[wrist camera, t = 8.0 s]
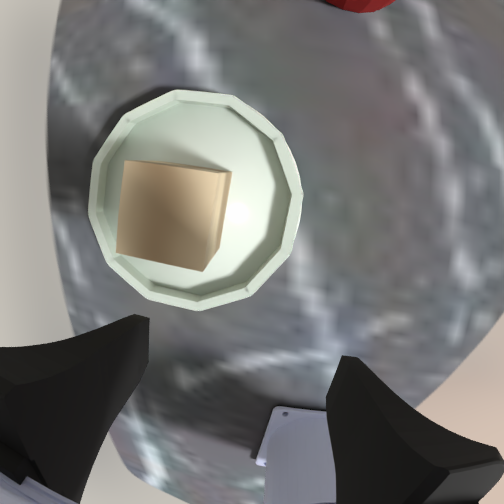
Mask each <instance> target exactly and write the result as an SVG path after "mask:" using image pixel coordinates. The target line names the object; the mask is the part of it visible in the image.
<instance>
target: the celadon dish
mask: <svg viewBox="0 0 504 504" xmlns="http://www.w3.org/2000/svg"><path fill="white" fill-rule="evenodd" d="M125 160H147V161H164V162H172V163H179V164H186V165H192V166H199V167H206V168H212V169H218V170H224V171H230V172H232V178H231V183H230V189H229V195H228V200H227V206H226V212H225V218H224V224H223V230H222V236H221V242H220V248H219V249H218V251H217V252H216V254H215V255H214V257H213V258H212V259H211V261H210V262H209V264H208V265H207V267H206V268H205V270H204V271H203V272H200V271H195V270H191V269H186V268H181V267H177V266H172V265H167V264H163V263H158V262H154V261H149V260H145V259H140V258H136V257H131V256H127V255H123V254H118V253H116V240H117V226H118V214H119V204H120V194H121V185H122V177H123V170H124V162H125ZM303 195H304V194H303V190H302V187H301V182H300V176H299V172H298V169H297V165H296V162H295V160H294V157H293V155H292V153H291V150H290V148H289V147H288V145H287V143H286V142H285V139H284V136H283V135H282V133H281V132H280V131H278V130H277V129H276V128H275V127H274V126H273V124H271V123H270V122H269V121H268V120H267V119H266V118H265V117H264V116H263V115H262V114H260V113H259V112H257V111H256V110H254V109H253V108H252V107H250V106H248V105H246V104H245V103H243V102H242V101H241V100H239V99H238V98H237V97H236V96H234V95H227V94H218V93H209V92H200V91H189V90H173V91H171V92H168V93H166V94H164V95H162V96H160V97H158V98H156V99H154V100H151V101H149V102H147V103H145V104H143V105H141V106H139V107H137V108H135V109H134V110H132V111H130V112H128V113H126V114H124V115H123V116H122V118H121V119H120V121H119V122H118V124H117V125H116V126H115V128H114V129H113V131H112V132H111V134H110V135H109V137H108V138H107V140H106V141H105V143H104V144H103V146H102V147H101V149H100V150H99V152H98V154H97V155H96V157H95V158H94V161H93V165H92V173H91V183H90V193H89V205H88V214H89V215H88V216H89V219H90V222H91V224H92V227H93V230H94V232H95V235H96V237H97V240H98V243H99V245H100V248H101V250H102V252H103V255H104V257H105V260H106V262H107V263H108V265H109V266H110V267H111V268H112V269H113V270H114V271H115V272H117V273H118V274H119V275H120V276H121V277H122V278H123V279H124V280H126V281H127V282H128V283H129V284H130V285H131V286H132V287H134V288H135V289H136V290H137V291H138V292H139V293H140V294H142V295H143V296H144V297H145V298H146V299H147V298H148V299H149V300H153V301H157V302H161V303H165V304H169V305H173V306H177V307H182V308H186V309H190V310H195V311H198V310H199V311H202V310H205V309H209V308H212V307H216V306H219V305H223V304H226V303H230V302H233V301H237V300H240V299H243V298H247V297H250V296H252V295H253V294H254V293H255V292H256V291H257V290H258V288H259V287H260V286H261V285H262V284H263V283H264V282H265V281H266V280H267V279H268V278H269V277H270V276H271V275H272V274H273V273H274V272H275V270H276V269H277V268H278V267H279V266H280V265H281V264H282V263H283V262H284V261H285V260H286V259H287V258H288V257H289V255H290V253H291V251H292V246H293V242H294V239H295V236H296V233H297V229H298V226H299V222H300V216H301V209H302V200H303Z"/></svg>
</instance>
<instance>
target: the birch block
mask: <svg viewBox="0 0 504 504" xmlns="http://www.w3.org/2000/svg"><path fill="white" fill-rule="evenodd" d="M231 178H232V172H230V171H224V170H218V169H212V168H206V167H199V166H192V165H186V164H179V163H172V162H164V161H147V160H125V162H124V170H123V177H122V185H121V194H120V204H119V214H118V226H117V240H116V253H118V254H123V255H127V256H131V257H136V258H140V259H145V260H149V261H154V262H158V263H163V264H167V265H172V266H177V267H181V268H186V269H191V270H195V271H200V272H203V271H204V270H205V268H206V267H207V265H208V264H209V262H210V261H211V259H212V258H213V257H214V255H215V254H216V252H217V251H218V249H219V248H220V242H221V236H222V230H223V224H224V218H225V212H226V206H227V200H228V195H229V189H230V183H231Z"/></svg>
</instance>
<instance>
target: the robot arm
mask: <svg viewBox="0 0 504 504" xmlns="http://www.w3.org/2000/svg"><path fill="white" fill-rule="evenodd" d="M149 320H150V318H148V317H144V316H140V315H136V314H133V315H130V316H128V317H125V318H122V319H120V320H118V321H115V322H113V323H110V324H108V325H105V326H103V327H100V328H98V329H95V330H93V331H90V332H87V333H84V334H81V335H78V336H75V337H72V338H69V339H65V340H61V341H57V342H52V343H47V344H40V345H33V346H24V347H0V504H80V501H81V498H82V494H83V491H84V488H85V485H86V483H87V480H88V477H89V474H90V472H91V469H92V466H93V464H94V461H95V459H96V457H97V455H98V452H99V450H100V447H101V445H102V443H103V441H104V439H105V437H106V435H107V432H108V430H109V428H110V427H111V425H112V423H113V422H114V420H115V418H116V417H117V415H118V414H119V412H120V411H121V409H122V408H123V406H124V405H125V403H126V402H127V400H128V399H129V397H130V396H131V394H132V392H133V391H134V389H135V388H136V386H137V385H138V383H139V381H140V379H141V377H142V375H143V373H144V371H145V368H146V366H147V364H148V352H149ZM284 412H288V413H284ZM256 464H257V465H260V466H266V474H265V489H264V503H263V504H479V503H478V502H479V500H480V499H482V498H483V497H484V496H485V495H486V494H487V493H488V492H489V491H490V490H491V489H492V487H494V485H495V484H496V483H497V482H498V481H499V480H500V478H501V477H502V475H503V473H504V460H503V458H502V456H501V455H500V453H499V451H498V450H497V448H496V447H493V446H489V445H486V444H482V443H479V442H476V441H473V440H470V439H467V438H465V437H463V436H460V435H458V434H456V433H453V432H451V431H449V430H447V429H445V428H444V427H442V426H440V425H438V424H436V423H435V422H433V421H431V420H429V419H428V418H426V417H425V416H423V415H422V414H421V413H419V412H418V411H416V410H415V409H413V408H412V407H411V406H410V405H408V404H407V403H406V402H405V401H403V400H402V399H401V398H400V397H399V396H398V395H396V394H395V393H394V392H393V391H392V390H391V389H390V388H389V387H388V386H387V385H386V384H385V383H383V382H382V381H381V380H380V379H379V378H378V377H377V376H376V375H375V374H374V373H373V372H372V371H371V370H370V369H369V368H368V367H367V366H366V365H365V364H364V363H363V362H362V361H361V360H360V359H359V358H357V357H351V356H343V355H342V357H341V359H340V362H339V365H338V368H337V370H336V373H335V375H334V378H333V381H332V383H331V386H330V388H329V391H328V393H327V396H326V412H323V411H314V410H305V409H297V408H290V407H283V406H277V407H275V408H274V409H273V411H272V414H271V417H270V420H269V423H268V426H267V429H266V432H265V435H264V438H263V441H262V443H261V446H260V449H259V452H258V455H257V458H256Z"/></svg>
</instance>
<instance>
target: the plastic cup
mask: <svg viewBox="0 0 504 504" xmlns="http://www.w3.org/2000/svg"><path fill="white" fill-rule="evenodd" d="M326 1H327V2H329V3H331V4H333V5H335V6H337V7H339V8H340V9H343V10H348V11H352V12H357V13H365V12H375V11H376V10H380V9H382V8H384V7H385V6H387V5H389V4H391V3H392V2H394V1H395V0H326Z"/></svg>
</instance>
